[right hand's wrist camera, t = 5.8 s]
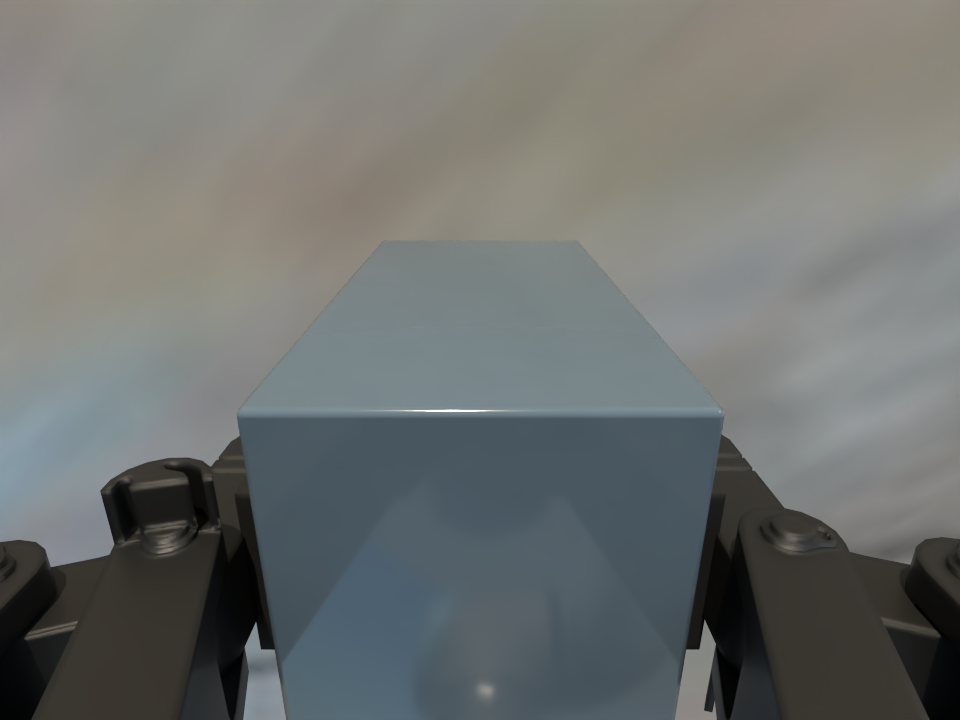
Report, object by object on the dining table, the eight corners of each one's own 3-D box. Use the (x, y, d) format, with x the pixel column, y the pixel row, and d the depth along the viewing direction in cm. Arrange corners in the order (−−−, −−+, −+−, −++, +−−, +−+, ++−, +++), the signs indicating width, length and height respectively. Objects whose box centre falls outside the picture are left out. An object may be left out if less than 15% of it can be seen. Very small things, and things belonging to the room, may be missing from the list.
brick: (381, 239, 15) (231, 409, 6) (578, 240, 15) (730, 410, 6) (394, 457, 18) (300, 822, 8) (565, 457, 18) (660, 822, 8)
